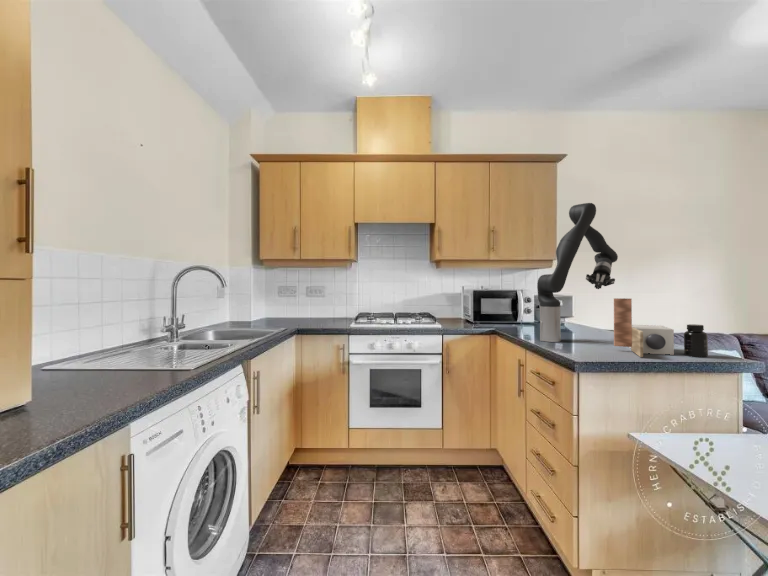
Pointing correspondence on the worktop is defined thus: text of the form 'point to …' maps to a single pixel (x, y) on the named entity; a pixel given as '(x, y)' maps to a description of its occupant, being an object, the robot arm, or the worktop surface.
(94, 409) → the worktop surface
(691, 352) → the supplement bottle
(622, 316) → the wooden block
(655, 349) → the housing
